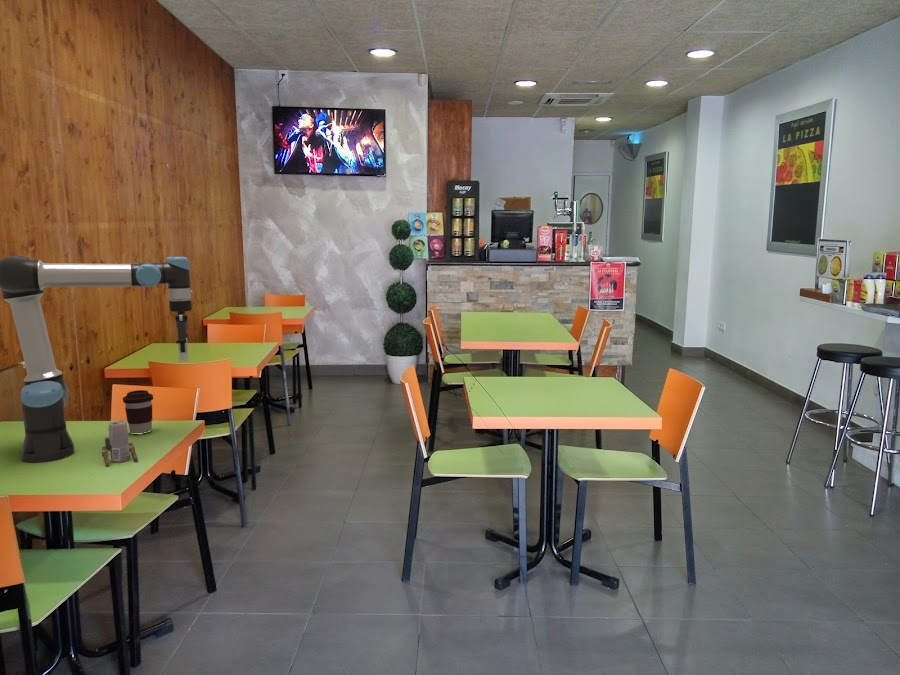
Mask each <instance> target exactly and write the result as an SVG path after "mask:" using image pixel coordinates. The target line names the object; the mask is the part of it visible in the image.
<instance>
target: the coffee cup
mask: <svg viewBox="0 0 900 675" xmlns="http://www.w3.org/2000/svg"><path fill="white" fill-rule="evenodd" d="M152 400H154V394H152V393H149V390H147V389H146V390H144V389H140V390H132V391H128V392H127V393H126V396H123V397H122V402H123V404H125V405H124V406H125V407H124V410H125V415H126V423H127V425H128V431H129V433H130V432H131V433H144V432H148V431H150V430H153V423H152V422H153V403H152Z"/></svg>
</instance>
